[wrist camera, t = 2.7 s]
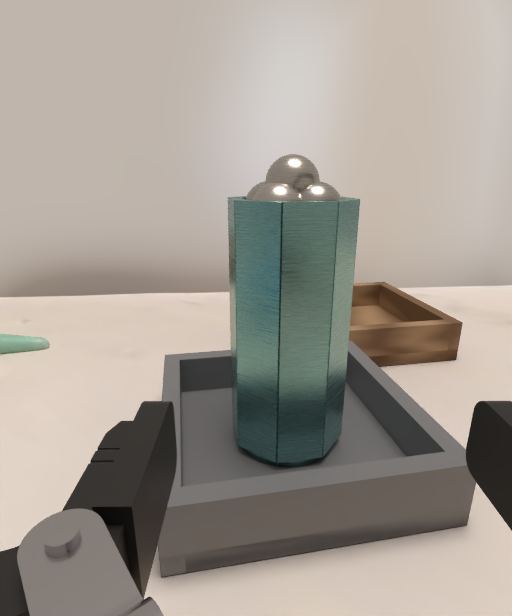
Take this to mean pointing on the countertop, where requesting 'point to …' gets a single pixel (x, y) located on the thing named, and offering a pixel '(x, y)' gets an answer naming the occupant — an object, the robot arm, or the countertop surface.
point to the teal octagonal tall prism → (290, 313)
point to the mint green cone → (21, 343)
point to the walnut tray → (400, 327)
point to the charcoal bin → (303, 473)
